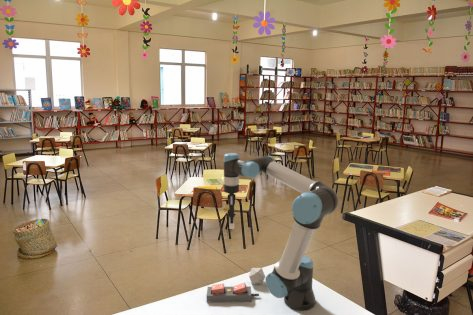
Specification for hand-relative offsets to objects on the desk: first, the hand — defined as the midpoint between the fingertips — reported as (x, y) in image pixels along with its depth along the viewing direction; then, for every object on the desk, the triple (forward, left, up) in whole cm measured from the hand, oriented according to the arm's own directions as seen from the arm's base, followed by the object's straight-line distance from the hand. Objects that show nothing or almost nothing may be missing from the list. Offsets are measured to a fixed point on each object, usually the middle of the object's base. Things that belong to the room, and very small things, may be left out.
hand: (231, 228), depth 190 cm
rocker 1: (+1, +13, -29) cm, 32 cm away
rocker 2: (-9, +7, -29) cm, 31 cm away
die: (-10, -9, -33) cm, 35 cm away
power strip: (-6, +9, -32) cm, 34 cm away
